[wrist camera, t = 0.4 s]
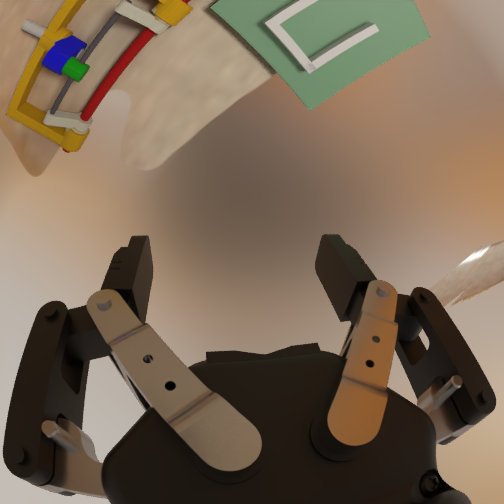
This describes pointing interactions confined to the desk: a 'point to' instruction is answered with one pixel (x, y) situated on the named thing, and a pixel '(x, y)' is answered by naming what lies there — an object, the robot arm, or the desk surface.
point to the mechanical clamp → (81, 66)
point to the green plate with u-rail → (324, 38)
